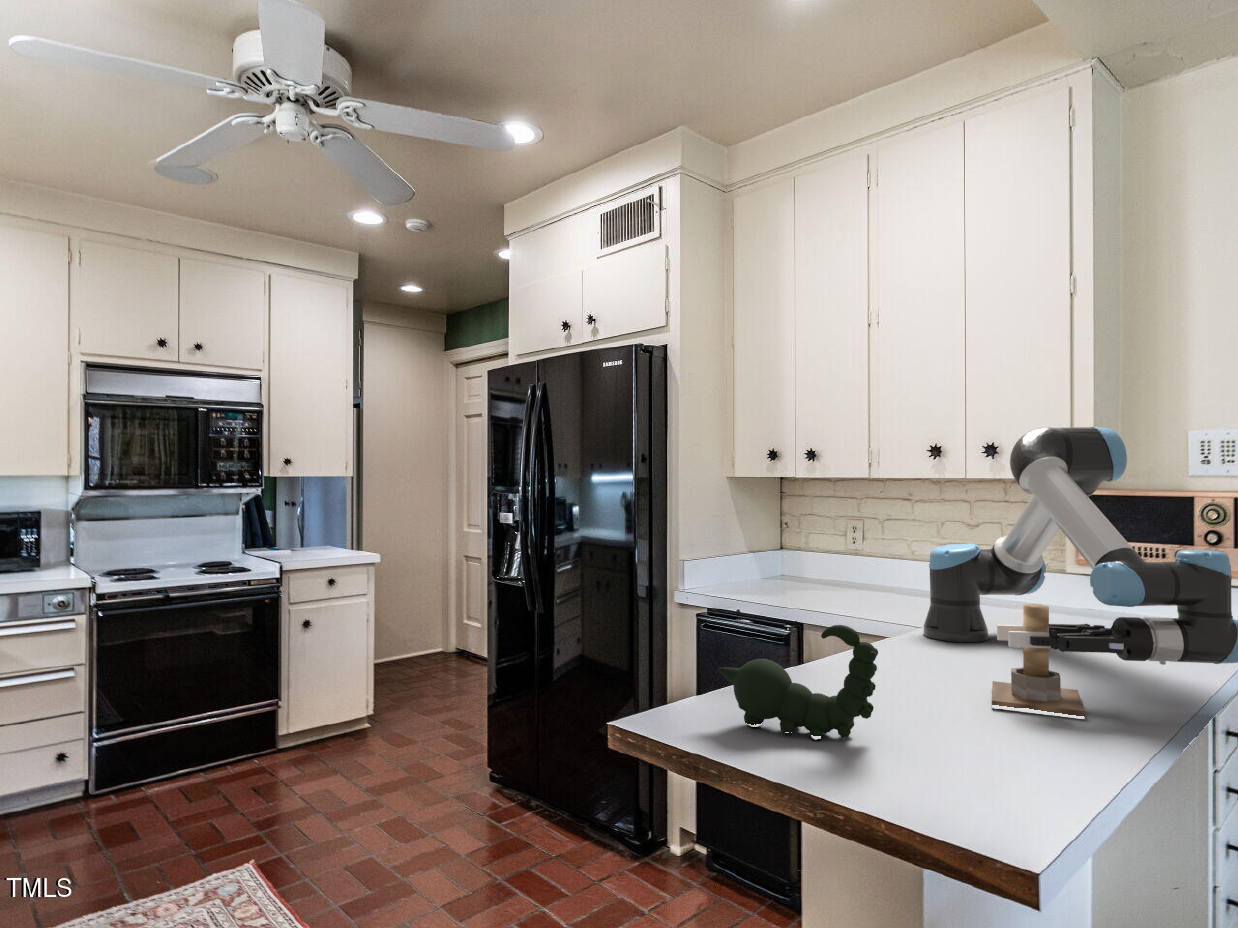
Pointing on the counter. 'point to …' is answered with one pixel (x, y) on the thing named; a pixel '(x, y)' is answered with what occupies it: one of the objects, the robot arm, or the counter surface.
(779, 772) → the counter surface
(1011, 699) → the cup bracket
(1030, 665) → the oak cylinder
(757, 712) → the toy figurine
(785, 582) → the counter surface
